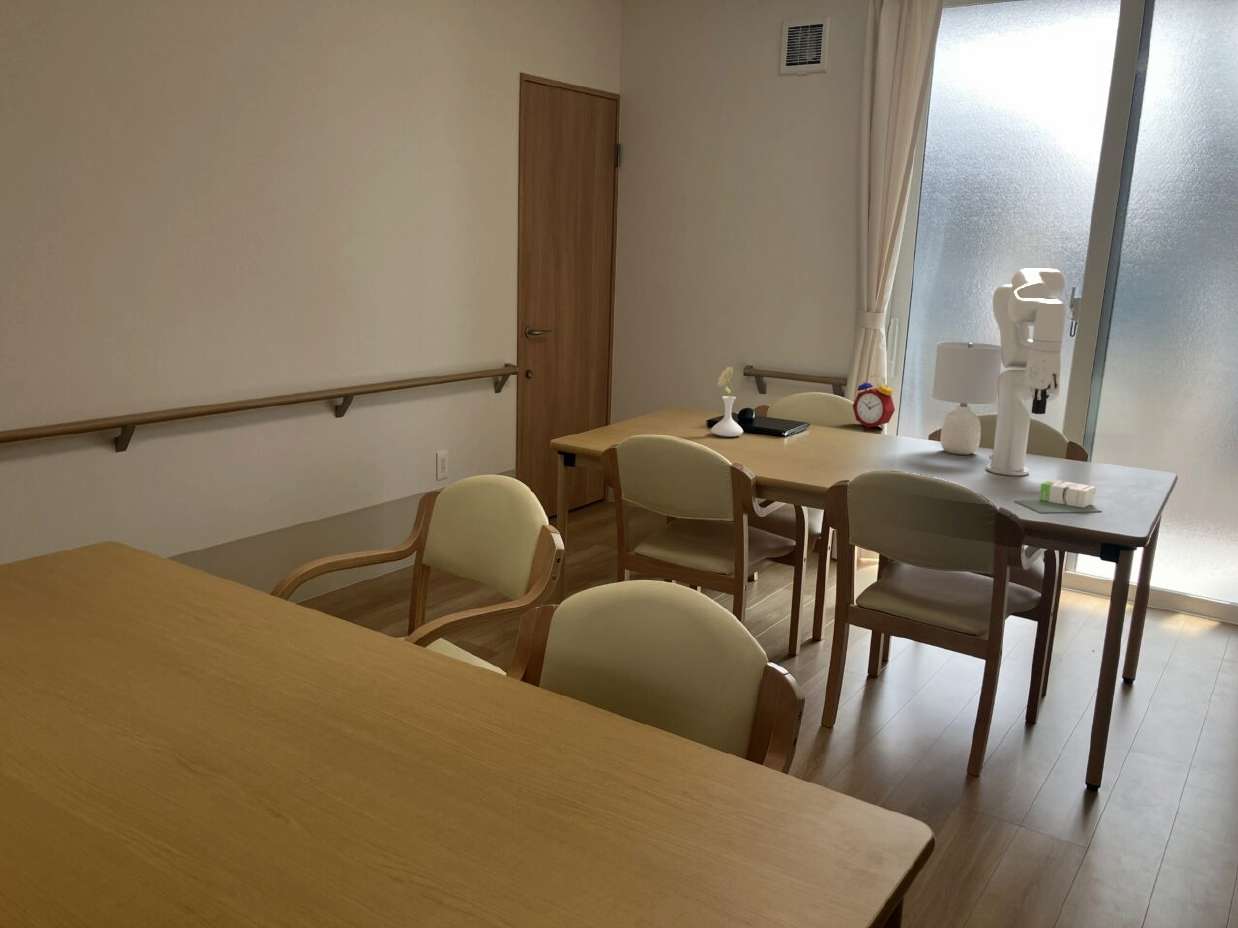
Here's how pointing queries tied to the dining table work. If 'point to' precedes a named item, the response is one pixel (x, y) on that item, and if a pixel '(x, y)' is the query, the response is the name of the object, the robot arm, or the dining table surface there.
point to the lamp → (965, 390)
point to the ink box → (1067, 493)
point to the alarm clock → (873, 405)
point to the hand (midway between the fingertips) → (1038, 413)
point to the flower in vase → (727, 410)
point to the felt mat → (1053, 507)
